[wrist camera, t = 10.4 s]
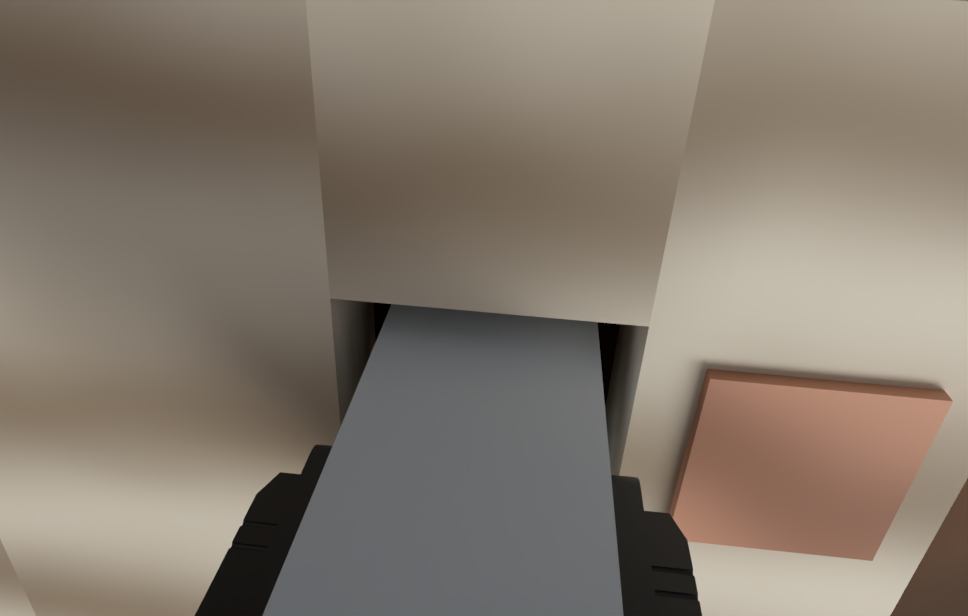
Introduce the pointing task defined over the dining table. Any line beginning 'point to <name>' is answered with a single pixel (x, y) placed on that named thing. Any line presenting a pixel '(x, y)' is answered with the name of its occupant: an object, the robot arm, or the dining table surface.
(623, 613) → the robot arm
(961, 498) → the dining table surface
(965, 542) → the dining table surface
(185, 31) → the socket block
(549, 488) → the plug
